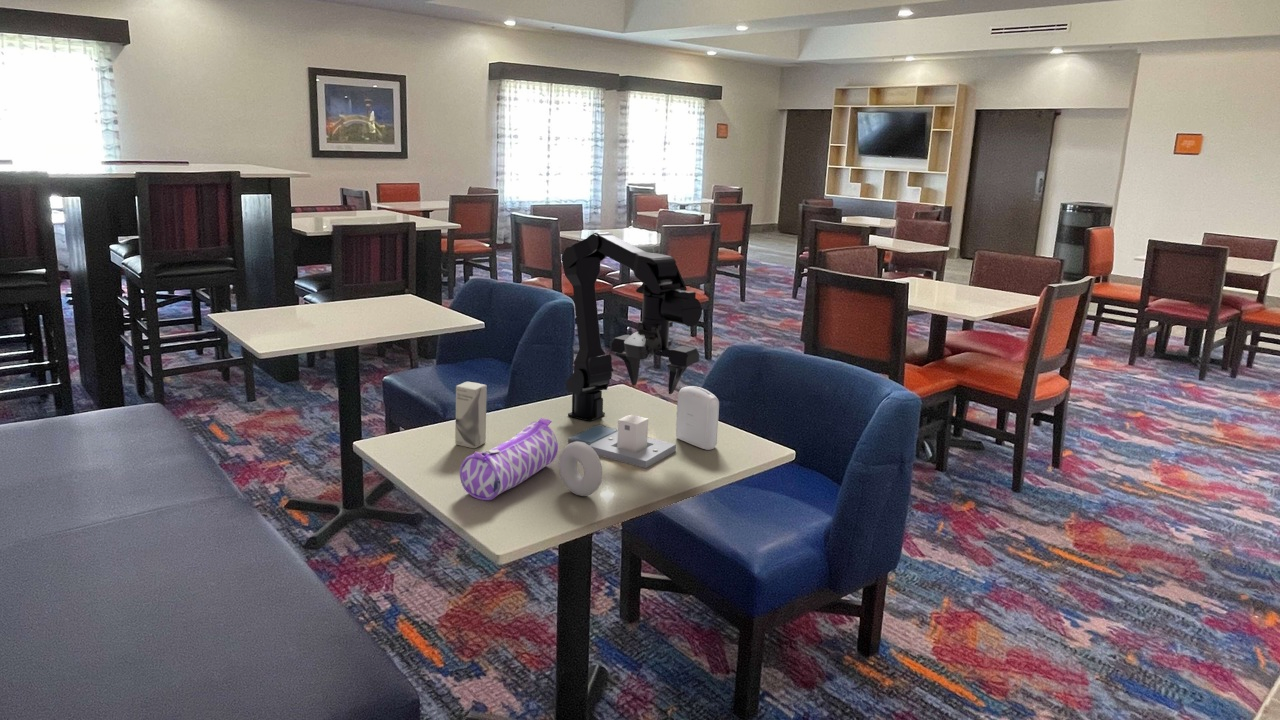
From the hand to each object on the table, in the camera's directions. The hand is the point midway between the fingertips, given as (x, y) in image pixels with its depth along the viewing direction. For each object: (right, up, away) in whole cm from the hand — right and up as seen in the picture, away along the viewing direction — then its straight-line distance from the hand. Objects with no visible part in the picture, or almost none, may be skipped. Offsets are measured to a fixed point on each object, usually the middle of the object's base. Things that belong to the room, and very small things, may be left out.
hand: (652, 389), depth 175 cm
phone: (-13, -11, +4) cm, 17 cm away
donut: (-14, -18, -25) cm, 34 cm away
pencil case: (-27, -17, -20) cm, 38 cm away
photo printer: (+9, -12, +4) cm, 16 cm away
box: (-38, -11, -2) cm, 40 cm away
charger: (-4, -13, -3) cm, 14 cm away
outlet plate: (-4, -13, -3) cm, 14 cm away
